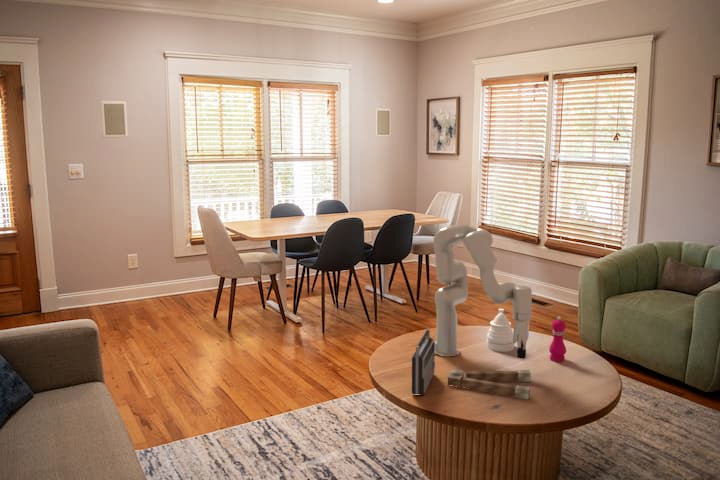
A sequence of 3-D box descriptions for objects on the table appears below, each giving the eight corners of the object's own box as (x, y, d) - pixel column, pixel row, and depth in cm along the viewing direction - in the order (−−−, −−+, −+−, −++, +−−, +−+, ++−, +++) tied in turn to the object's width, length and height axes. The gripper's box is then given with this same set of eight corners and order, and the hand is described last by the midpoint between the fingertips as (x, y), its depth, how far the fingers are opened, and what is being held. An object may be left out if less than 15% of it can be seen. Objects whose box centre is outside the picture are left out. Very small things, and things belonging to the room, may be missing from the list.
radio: (425, 397, 235) (425, 348, 231) (411, 395, 236) (412, 347, 233) (436, 373, 258) (436, 328, 254) (423, 372, 259) (424, 327, 256)
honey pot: (485, 341, 296) (486, 306, 293) (512, 342, 294) (513, 307, 291) (487, 351, 284) (488, 314, 281) (515, 352, 282) (516, 314, 279)
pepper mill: (563, 356, 275) (565, 314, 272) (567, 362, 268) (569, 319, 265) (547, 356, 276) (549, 314, 272) (550, 362, 269) (552, 319, 265)
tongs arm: (466, 381, 248) (467, 373, 247) (465, 378, 251) (465, 370, 250) (530, 381, 248) (530, 372, 247) (528, 378, 250) (529, 370, 250)
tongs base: (446, 385, 246) (446, 376, 245) (452, 377, 253) (452, 368, 252) (528, 399, 232) (528, 389, 231) (531, 391, 239) (532, 382, 238)
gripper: (516, 310, 260) (516, 351, 262) (509, 319, 246) (508, 362, 249) (534, 311, 256) (533, 353, 259) (527, 321, 243) (527, 365, 246)
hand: (521, 357), depth 254 cm, fingers closed
